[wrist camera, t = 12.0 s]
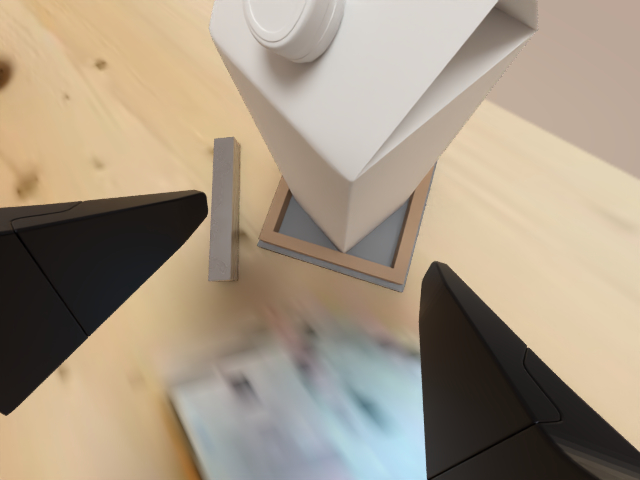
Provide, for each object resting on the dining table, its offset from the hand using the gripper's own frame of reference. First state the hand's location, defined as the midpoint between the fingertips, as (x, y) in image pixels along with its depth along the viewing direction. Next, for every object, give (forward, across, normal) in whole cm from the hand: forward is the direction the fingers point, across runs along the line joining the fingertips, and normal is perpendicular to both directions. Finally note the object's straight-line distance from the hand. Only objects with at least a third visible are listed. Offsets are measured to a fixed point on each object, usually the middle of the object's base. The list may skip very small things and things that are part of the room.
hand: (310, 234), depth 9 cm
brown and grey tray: (+14, 0, +4) cm, 15 cm away
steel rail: (+11, +11, +8) cm, 17 cm away
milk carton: (+13, 0, +4) cm, 14 cm away
